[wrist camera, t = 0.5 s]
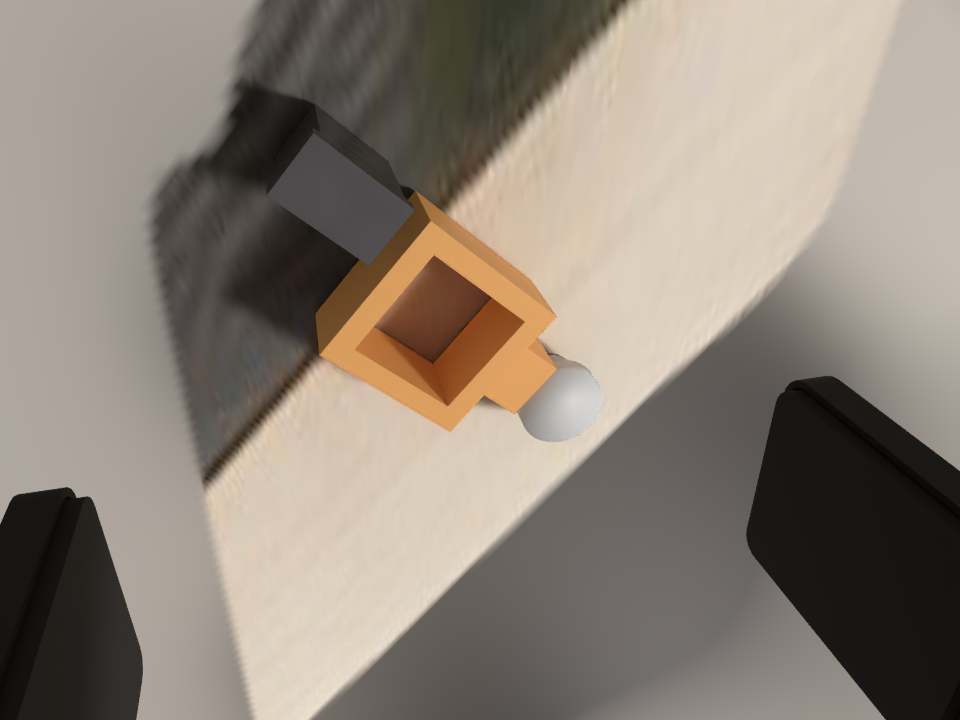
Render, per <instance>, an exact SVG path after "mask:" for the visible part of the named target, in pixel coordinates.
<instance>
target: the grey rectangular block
mask: <svg viewBox="0 0 960 720" xmlns="http://www.w3.org/2000/svg"><path fill="white" fill-rule="evenodd" d="M267 196H268V197H269V198H271V199H272V200H274V201H275V202H276V203H278V204H279V205H281V206H282V207H284V208H285V209H287V210H288V211H290V212H291V213H292V214H294V215H295V216H297V217H298V218H300V219H301V220H303V221H304V222H306V223H307V224H309V225H310V226H311V227H313V228H314V229H316V230H317V231H319V232H320V233H322V234H323V235H325V236H326V237H328V238H329V239H330V240H332V241H333V242H335V243H336V244H338V245H339V246H341V247H342V248H344V249H345V250H346V251H348V252H349V253H351V254H352V255H354V256H355V257H357V258H358V259H360V260H361V261H363V262H364V263H365V264H367V265H368V266H369V265H370V264H371V263H372V262H373V260H374V259H375V258H376V257H377V256H378V254H379V253H380V252H381V251H382V249H383V248H384V247H385V246H386V245H387V243H388V242H389V241H390V240H391V238H392V237H393V236H394V235H395V234H396V232H397V231H398V230H399V229H400V228H401V226H402V225H403V224H404V223H405V221H406V220H407V219H408V218H409V217H410V215H411V214H412V213H413V212H414V210H415V209H414V207H413V205H412V203H411V202H410V201H409V200H408V199H406V198H405V197H404V195H403V193H402V191H401V189H400V186H399V184H398V182H397V180H396V178H395V175H394V173H393V171H392V169H391V167H390V164H389V162H388V161H387V160H386V159H384V158H383V157H382V156H381V155H379V154H378V153H377V152H375V151H374V150H373V149H372V148H370V147H369V146H368V145H366V144H365V143H364V142H363V141H361V140H360V139H359V138H358V137H356V136H355V135H354V134H352V133H351V132H350V131H349V130H347V129H346V128H345V127H343V126H342V125H341V124H340V123H338V122H337V121H336V120H335V119H333V118H332V117H331V116H329V115H328V114H327V113H326V112H324V111H323V110H322V109H320V108H319V107H318V106H317V105H315V104H314V105H313V106H312V108H311V109H310V111H309V112H308V113H307V115H306V116H305V117H304V119H303V120H302V121H301V123H300V124H299V125H298V127H297V128H296V129H295V131H294V132H293V134H292V135H291V136H290V138H289V139H288V140H287V142H286V143H285V144H284V146H283V147H282V148H281V150H280V151H279V152H278V154H277V155H276V156H275V178H274V179H273V180H272V182H271V183H270V184H269V186H268V187H267Z"/></svg>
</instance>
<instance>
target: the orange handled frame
mask: <svg viewBox="0 0 960 720" xmlns="http://www.w3.org/2000/svg"><path fill="white" fill-rule="evenodd" d="M408 200H409V201H410V202H411V203H412V205H413V207H414V209H415V210H414V212H413V213H412V214H411V215H410V217H409V218H408V219H407V220H406V221H405V223H404V224H403V225H402V226H401V228H400V229H399V230H398V231H397V232H396V234H395V235H394V236H393V237H392V238H391V240H390V241H389V242H388V243H387V245H386V246H385V247H384V248H383V249H382V251H381V252H380V253H379V254H378V256H377V257H376V258H375V259H374V260H373V262H372V263H371V264H370V265H369V266H368V265H367V264H365V263H364V262H363V261H361V260H360V259H359V261H358V262H357V263H356V264H355V265H354V267H353V268H352V269H351V270H350V272H349V273H348V274H347V275H346V277H345V278H344V279H343V280H342V281H341V283H340V284H339V285H338V286H337V288H336V289H335V290H334V291H333V293H332V294H331V295H330V296H329V297H328V299H327V300H326V301H325V302H324V304H323V305H322V306H321V307H320V309H319V310H318V311H317V312H316V314H315V316H316V326H317V336H318V345H319V355H320V356H322V357H323V358H325V359H327V360H328V361H330V362H332V363H334V364H335V365H337V366H339V367H340V368H342V369H344V370H345V371H347V372H349V373H351V374H352V375H354V376H356V377H357V378H359V379H361V380H363V381H364V382H366V383H368V384H369V385H371V386H373V387H374V388H376V389H378V390H380V391H381V392H383V393H385V394H386V395H388V396H390V397H391V398H393V399H395V400H397V401H398V402H400V403H402V404H403V405H405V406H407V407H408V408H410V409H412V410H414V411H415V412H417V413H419V414H420V415H422V416H424V417H425V418H427V419H429V420H431V421H432V422H434V423H436V424H437V425H439V426H441V427H442V428H444V429H446V430H448V431H449V432H451V431H452V430H453V429H454V427H455V426H456V425H457V424H458V423H459V422H460V421H461V420H462V419H463V418H464V417H465V416H466V414H467V413H468V412H469V411H470V410H471V409H472V408H473V407H474V406H475V405H476V404H477V403H478V401H479V400H480V399H481V398H482V397H483V396H484V395H485V396H486V397H488V398H489V399H491V400H492V401H494V402H496V403H497V404H499V405H500V406H502V407H503V408H505V409H507V410H508V411H510V412H511V413H513V414H515V413H516V412H517V413H518V415H519V417H520V419H521V421H522V423H523V425H524V427H525V429H526V430H527V431H528V432H529V433H530V434H531V435H532V436H533V437H535V438H537V439H539V440H542V441H546V442H560V441H565V440H569V439H571V438H574V437H576V436H578V435H580V434H581V433H583V432H584V431H585V430H587V429H588V428H589V427H590V426H591V425H592V424H593V423H594V421H595V420H596V419H597V417H598V415H599V413H600V411H601V408H602V403H603V394H602V390H601V387H600V386H599V384H598V382H597V381H596V379H595V378H594V376H593V375H592V373H591V372H590V371H589V370H588V369H587V368H586V367H585V366H584V365H582V364H580V363H578V362H575V361H570V360H567V359H565V358H563V357H561V356H557V355H548V354H547V352H546V350H545V349H544V347H543V345H542V344H541V342H540V341H539V339H538V337H539V335H540V334H541V333H542V332H543V331H544V330H545V329H546V328H547V327H548V326H549V325H550V324H551V322H552V321H553V320H554V319H555V318H556V317H557V316H556V315H555V313H554V312H553V311H552V309H551V308H550V306H549V305H548V303H547V302H546V301H545V299H544V298H543V296H542V295H541V293H540V292H539V290H538V289H537V288H536V286H535V285H534V283H533V282H532V281H531V280H530V279H529V278H528V277H526V276H525V275H524V274H522V273H521V272H520V271H519V270H517V269H516V268H515V267H513V266H512V265H511V264H510V263H508V262H507V261H506V260H504V259H503V258H502V257H501V256H499V255H498V254H497V253H495V252H494V251H493V250H491V249H490V248H489V247H488V246H486V245H485V244H484V243H482V242H481V241H480V240H479V239H477V238H476V237H475V236H473V235H472V234H471V233H470V232H468V231H467V230H466V229H464V228H463V227H462V226H461V225H459V224H458V223H457V222H455V221H454V220H453V219H452V218H450V217H449V216H448V215H446V214H445V213H444V212H443V211H441V210H440V209H439V208H437V207H436V206H435V205H434V204H432V203H431V202H430V201H428V200H427V199H426V198H424V197H423V196H422V195H421V194H419V193H418V192H417V191H415V192H414V193H413V194H412V195H411V197H410V198H409V199H408ZM434 255H435V256H436V257H437V258H439V259H440V260H441V261H443V262H444V263H445V264H447V265H448V266H450V267H451V268H452V269H454V270H455V271H456V272H458V273H459V274H461V275H462V276H463V277H465V278H466V279H467V280H469V281H470V282H471V283H473V284H474V285H476V286H477V287H478V288H480V289H481V290H482V291H484V292H485V293H486V294H488V295H489V296H491V297H492V298H491V299H490V300H489V301H488V302H487V304H486V305H485V306H484V307H483V308H482V309H481V310H480V311H479V313H478V314H477V315H476V316H475V317H474V318H473V319H472V320H471V322H470V323H469V324H468V325H467V326H466V327H465V328H464V330H463V331H462V332H461V333H460V334H459V335H458V336H457V337H456V339H455V340H454V341H453V342H452V343H451V344H450V345H449V346H448V348H447V349H446V350H445V351H444V352H443V353H442V354H441V355H440V357H439V358H438V359H437V360H436V361H435V362H434V363H433V364H432V363H431V362H429V361H427V360H426V359H424V358H423V357H421V356H420V355H418V354H416V353H415V352H413V351H412V350H410V349H409V348H407V347H406V346H404V345H402V344H401V343H399V342H398V341H396V340H395V339H393V338H391V337H390V336H388V335H387V334H385V333H384V332H382V331H380V330H379V329H377V328H376V327H374V326H375V324H376V323H377V322H378V321H379V320H380V318H381V317H382V316H383V315H384V314H385V313H386V311H387V310H388V309H389V308H390V307H391V305H392V304H393V303H394V302H395V301H396V300H397V298H398V297H399V296H400V295H401V294H402V292H403V291H404V290H405V289H406V288H407V286H408V285H409V284H410V283H411V282H412V281H413V279H414V278H415V277H416V276H417V275H418V273H419V272H420V271H421V270H422V269H423V268H424V266H425V265H426V264H427V263H428V262H429V260H430V259H431V258H432V257H433V256H434Z"/></svg>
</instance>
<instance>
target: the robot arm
mask: <svg viewBox="0 0 960 720" xmlns="http://www.w3.org/2000/svg"><path fill="white" fill-rule="evenodd" d="M746 535H747V542H748V546H749V548H750V550H751V553H752V554H753V556H754V557H755V558H756V560H757V561H758V562H759V563H760V565H761V566H762V567H763V568H764V569H765V571H766V572H767V573H768V574H769V576H770V577H771V578H772V579H773V581H774V582H775V583H776V584H777V585H778V587H779V588H780V589H781V591H782V592H783V593H784V594H785V596H786V597H787V598H788V599H789V600H790V602H791V603H792V604H793V605H794V607H795V608H796V609H797V610H798V612H799V613H800V614H801V615H802V616H803V618H804V619H805V620H806V622H807V623H808V624H809V625H810V626H811V628H812V629H813V630H814V631H815V633H816V634H817V635H818V636H819V637H820V639H821V640H822V641H823V642H824V644H825V645H826V646H827V647H828V649H829V650H830V651H831V652H832V654H833V655H834V656H835V657H836V659H837V660H838V661H839V662H840V664H841V665H842V666H843V667H844V668H845V669H846V671H847V672H848V673H849V675H850V676H851V677H852V678H853V680H854V681H855V682H856V683H857V685H858V686H859V687H860V688H861V690H862V691H863V692H864V693H865V694H866V696H867V697H868V698H869V699H870V701H871V702H872V703H873V704H874V706H875V707H876V708H877V709H878V710H879V712H880V713H881V714H882V715H883V717H884V718H885V719H886V720H960V471H959V470H957V469H956V468H955V467H954V466H952V465H951V464H950V463H948V462H947V461H946V460H944V459H943V458H942V457H940V456H939V455H938V454H936V453H935V452H934V451H933V450H931V449H930V448H929V447H927V446H926V445H925V444H923V443H922V442H920V441H919V440H918V439H917V438H915V437H914V436H913V435H911V434H910V433H909V432H907V431H906V430H905V429H903V428H902V427H901V426H899V425H898V424H897V423H895V422H894V421H893V420H891V419H890V418H889V417H887V416H886V415H885V414H884V413H882V412H881V411H879V410H878V409H877V408H876V407H874V406H873V405H872V404H870V403H869V402H868V401H866V400H865V399H864V398H862V397H861V396H860V395H858V394H857V393H856V392H854V391H853V390H852V389H850V388H849V387H848V386H846V385H845V384H844V383H843V382H841V381H840V380H838V379H836V378H835V377H832V376H823V377H816V378H810V379H803V380H796V381H793V382H791V383H790V384H789V385H788V386H787V387H786V389H785V392H784V393H781V394H780V396H779V397H778V399H777V401H776V405H775V409H774V414H773V418H772V422H771V427H770V431H769V435H768V440H767V444H766V448H765V453H764V457H763V461H762V466H761V470H760V474H759V479H758V483H757V487H756V492H755V496H754V500H753V505H752V510H751V513H750V518H749V522H748V526H747V533H746ZM142 676H143V665H142V654H141V650H140V645H139V642H138V639H137V636H136V633H135V630H134V627H133V624H132V620H131V618H130V614H129V611H128V608H127V605H126V602H125V599H124V595H123V592H122V589H121V586H120V583H119V580H118V577H117V574H116V571H115V567H114V564H113V561H112V558H111V555H110V552H109V549H108V546H107V542H106V539H105V536H104V533H103V530H102V527H101V524H100V521H99V517H98V514H97V511H96V508H95V505H94V503H93V501H92V499H91V498H90V497H81V498H76V496H75V493H74V492H73V491H72V489H70V488H68V487H66V488H59V489H52V490H45V491H38V492H32V493H25V494H19V495H16V496H14V497H13V498H12V500H11V502H10V503H9V506H8V508H7V510H6V512H5V515H4V517H3V519H2V522H1V524H0V720H136V717H137V710H138V703H139V697H140V691H141V684H142Z"/></svg>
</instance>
